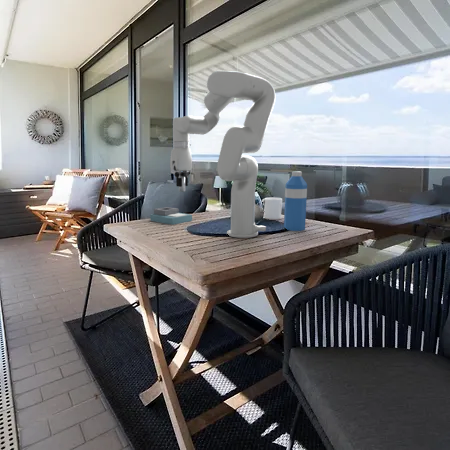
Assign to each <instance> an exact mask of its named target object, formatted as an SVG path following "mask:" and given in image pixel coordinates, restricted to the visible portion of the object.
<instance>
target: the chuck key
mask: <svg viewBox="0 0 450 450" xmlns="http://www.w3.org/2000/svg"><path fill="white" fill-rule="evenodd" d="M178 173H179V172H178ZM185 176H189V177H190V174H189V172H183V171H181V178H182V187H179V186H178V192H179V193H182V192H183V193H184V192H186V186H185Z"/></svg>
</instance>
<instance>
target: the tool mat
mask: <svg viewBox="0 0 450 450" xmlns="http://www.w3.org/2000/svg"><path fill="white" fill-rule="evenodd" d="M180 213H181V212H179V213H177V214H171V215H168V216H171V217H181V216H187V215H186V214H187V213H184V214H180Z"/></svg>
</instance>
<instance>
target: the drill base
mask: <svg viewBox="0 0 450 450" xmlns="http://www.w3.org/2000/svg"><path fill="white" fill-rule="evenodd" d="M179 211H180V210H179V208H176V207H168V206H165V207H158V208H154V209H153V214H150V215H149V220H150V221H151V222H156V223H162V224H166V225H171V226H172V225H178V224H183V223H188V222H192V221H193V214H190V213H184V212H183V213H182V212H179ZM177 213H180V214H186V215H187V216H181V217H171V216H168V215H171V214H177Z"/></svg>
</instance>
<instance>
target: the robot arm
mask: <svg viewBox="0 0 450 450" xmlns="http://www.w3.org/2000/svg"><path fill="white" fill-rule="evenodd" d="M206 87H207V90H208V91H209V92H208V93H207V94H206V95H205V97H204V98H203V99H204V100H203V103H204V106H205V107H206V109H207V110H208V112H207V113H206V114H205V115H204V116H197V115H196V116H194V115H185V116H184V115H183V116H182V117H180V116H178V117H173V120H172V147H173V148H171V152H170V167H169V168H170V173H171V174H173V175H174V177H175V179H176V181H175V183H176V184H175V185H176V187H178V188H179V187H182V178H181V172H189V176H185V187H188V185H189V184H188V183H189V181H188V179H189V177H190V175H191V173H193V172H194V169H193V157H192V150H191V145H192V144H191V142H190V141H191V140H190V139H191V136H190V135H206V134H208V133H209V132H211V131H212V130H213V129H214V128H215V127H216V126H217V125H218V123H219V121H220V119H221V112H222V111H223V110H224V109H225V108H226V107H228V105H229V104H230V103H231V102H233V100H234V99H239V100H246V101H252V102H253V104H252V105H251V106H250V107H249V109H248V110H247V112H246V115H245V119H244V123H243V125H242V126H241V125H235V126H232V127H230V128H229V129H228V130H227V131H226V133H225V134H224V137H223V138H222V139H223V140H222V143H221V148H220V152H219V156H218V160H217V165H216V170H217V175H218V177H219V178H220V179H221V180H223V181H225V182H232V186H231V191H230V229H229V230H227V231H226V235H227V234H228V235H229V237H232V238H240V239H247V238H250V239H251V238H254V237H257V236H258V235H259V232H266V230H267V226H265V225H257V224H256V222H255V213H256V211H255V210H256V184H257V183H256V182H257V177H258V172H259V166H258V162H257V160H256V159H255V157H253V156H250V155H247V154H254V153H257V152H259V150H260V149H261V148H262V144H263V141H264V138H265V135H266V132H267V128H268V124H269V120H270V117H271V114H272V112H273V110H274V106H275V103H276V91H275V88H274V86H273V85H272V83H270V81H268V79H265V78H263V77H262V76H261V77H260V76H257V75H254V74H249V73H246V72H242V71H232V70H231V71H229V70H215V71H214V72H212V73H210V75H209V76H208V78H207V82H206ZM245 154H246V155H245ZM178 172H179V173H178ZM228 235H227V236H228Z"/></svg>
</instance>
